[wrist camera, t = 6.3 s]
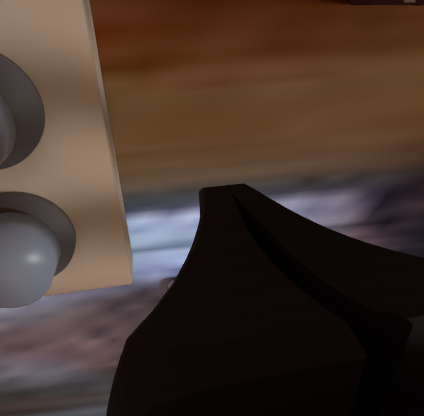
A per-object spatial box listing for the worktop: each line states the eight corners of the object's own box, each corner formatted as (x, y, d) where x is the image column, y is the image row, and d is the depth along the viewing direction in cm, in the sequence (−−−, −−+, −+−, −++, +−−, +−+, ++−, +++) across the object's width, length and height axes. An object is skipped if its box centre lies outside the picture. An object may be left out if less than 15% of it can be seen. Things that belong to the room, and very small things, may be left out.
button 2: (68, 274, 19) (61, 300, 17) (-14, 285, 18) (-29, 313, 17) (49, 207, 17) (39, 229, 15) (-43, 217, 16) (-64, 241, 15)
